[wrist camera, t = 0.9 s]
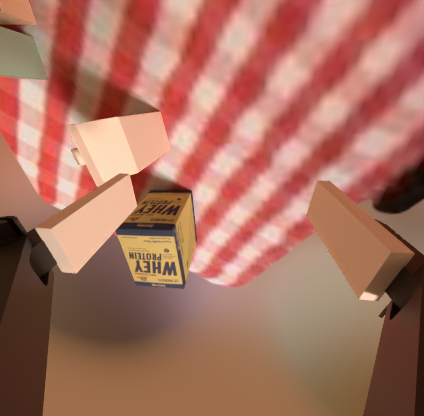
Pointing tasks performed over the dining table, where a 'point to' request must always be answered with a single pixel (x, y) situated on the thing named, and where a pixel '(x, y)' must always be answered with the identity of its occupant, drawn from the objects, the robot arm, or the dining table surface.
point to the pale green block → (19, 56)
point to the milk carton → (119, 144)
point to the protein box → (160, 239)
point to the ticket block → (16, 12)
